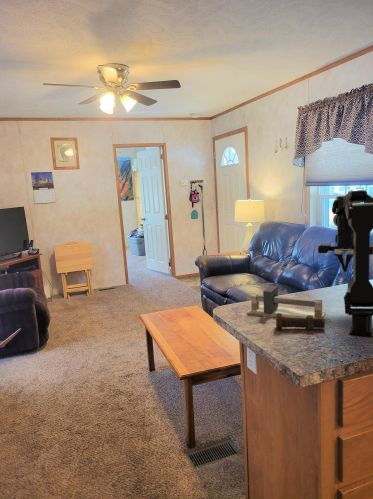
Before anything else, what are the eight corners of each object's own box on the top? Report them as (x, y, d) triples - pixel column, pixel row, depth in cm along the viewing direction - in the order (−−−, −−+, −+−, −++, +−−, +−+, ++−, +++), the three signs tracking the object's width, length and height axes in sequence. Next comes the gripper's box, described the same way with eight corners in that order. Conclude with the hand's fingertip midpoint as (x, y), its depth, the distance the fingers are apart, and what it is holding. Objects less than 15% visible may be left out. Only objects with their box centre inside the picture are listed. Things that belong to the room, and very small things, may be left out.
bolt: (324, 335, 121) (276, 333, 123) (322, 323, 125) (275, 321, 127) (327, 323, 118) (277, 322, 120) (324, 311, 121) (276, 310, 124)
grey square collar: (271, 313, 136) (271, 291, 134) (263, 312, 137) (263, 291, 136) (278, 306, 143) (277, 286, 141) (270, 305, 144) (270, 285, 143)
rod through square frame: (320, 322, 127) (320, 305, 126) (247, 313, 140) (246, 297, 139) (325, 313, 135) (325, 296, 134) (256, 305, 148) (255, 290, 147)
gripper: (375, 227, 141) (374, 268, 143) (323, 227, 150) (323, 265, 152) (373, 231, 131) (372, 275, 134) (317, 231, 140) (317, 272, 143)
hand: (345, 271), depth 141 cm, fingers closed
